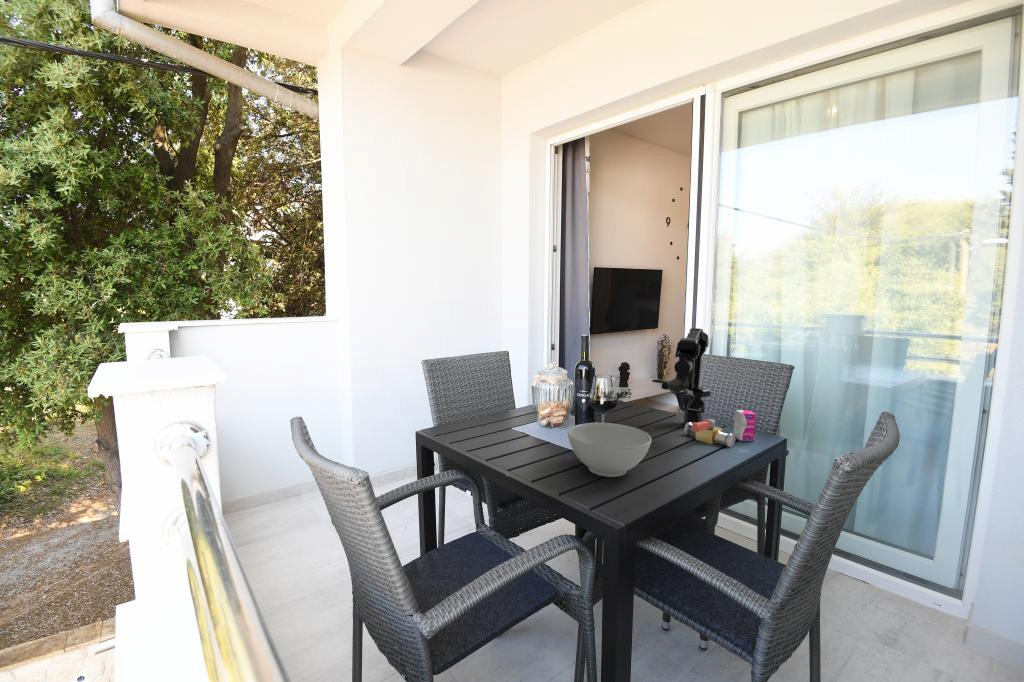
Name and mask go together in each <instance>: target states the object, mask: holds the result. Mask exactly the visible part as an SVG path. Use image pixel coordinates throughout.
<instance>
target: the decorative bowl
mask: <svg viewBox="0 0 1024 682" xmlns="http://www.w3.org/2000/svg"><path fill="white" fill-rule="evenodd" d="M567 438H568V440H569V445H570V447H571V448H572V451H573V453H574V454H575V455H576V457H577V459H579V461H580V462H581V463H582V464H584V466H586V467H588V470H589V471H590V472H591V473H593V474H595V475H597V476H601V477H606V478H607V477H609V478H613V477H614V478H616V477H623V476H624V475H626V473H627V471H629V470H631V469H633V468H634V467H636V466H637V465H638V464H639V463H641V461H643V459H644V458H645V456H646V455H647V453H648V451H649V449H650V447H651V445H652V437H651V435H650V434H649V433H648V432H646V431H644V430H642V429H639V428H637V427H634V426H630V425H626V424H619V423H613V422H612V423H611V422H589V423H588V422H587V423H580V424H577V425H574V426H572V427H569V429H568V431H567Z"/></svg>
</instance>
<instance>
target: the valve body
mask: <svg viewBox="0 0 1024 682" xmlns="http://www.w3.org/2000/svg"><path fill="white" fill-rule="evenodd" d="M683 430H684V433H685V434H686V435H689V436H691V435H693V436H695V440H697V441H700V442H702V443H706V444H709V445H714V444H716V445H717V444H718V445H720V444H723V445H725V446H726V447H728V448H733V446H734V445H735V443H736V438H735V435H734V434H733V433H724V432H723V428H722V427H717V426H715V428H709V429H705V430H701V431H699V432H695V431H692V422H688V423H686V425H685V424H684V429H683Z"/></svg>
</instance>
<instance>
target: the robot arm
mask: <svg viewBox="0 0 1024 682" xmlns="http://www.w3.org/2000/svg"><path fill="white" fill-rule="evenodd" d="M709 338H710V337H709V335H708V334H707V333H705V332H704V330H703V329H702V328H696V327H693V328H692V327H691V328H689V332H688V333H687V336H686V337H683V338H681V339H680V340H679V341H678V342H677V345H676V350H675V355H674V358H678V361H676V362H675V364H674V366H673V368H674V372H675V373H676V374H675V378H673V379H671V380H667V381H666V380H665V381H662V383H661V386H660V388H661V389H662V390H666V391H667V390H668V391H670V392H671V393H672V394H673V395H674V396H675V398H676V400H677V403H678V407H679V410H681V411H683V412H684V415H683V416H684V417H683V422H681V424H682V425H684V426H685V425H686V423H688V422H692V423H693V422H696V423H698V422H702V419H703V415H702V414H704V413H706V403H705V402H704V401H705V400H704V399H703V398H708V397H711V391H710V389H709V388H707V387H700V385H701V384H700V383H701V372H702V363H703V362H702V361H703V355H704V354H705V353H706V352H707V348H708V347H709V345H710V343H709V341H710V339H709Z"/></svg>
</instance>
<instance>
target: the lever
mask: <svg viewBox="0 0 1024 682" xmlns="http://www.w3.org/2000/svg"><path fill="white" fill-rule="evenodd" d="M715 425H716V420H715V419H712V418H705V420H703V421H702V420H701V422H698V423H696V422H693V423H692V431H695V432H699V431H701V430H705V429H709V428H715V427H716V426H715Z"/></svg>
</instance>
